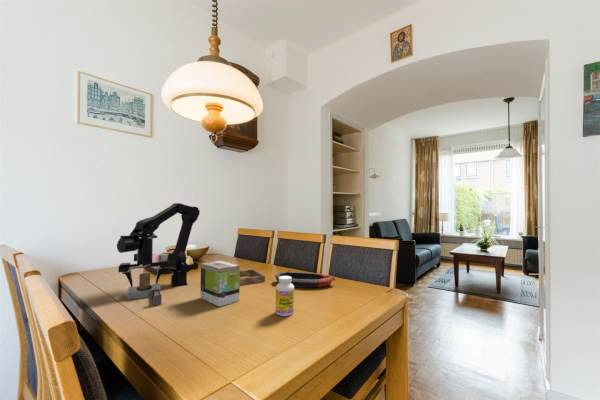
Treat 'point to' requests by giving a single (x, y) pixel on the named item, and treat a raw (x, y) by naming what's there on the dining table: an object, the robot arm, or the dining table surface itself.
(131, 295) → the mount
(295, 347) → the dining table surface
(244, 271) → the trivet
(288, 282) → the supplement bottle
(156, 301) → the lock pin
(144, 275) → the peg
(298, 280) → the dish
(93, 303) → the dining table surface
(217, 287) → the tea box
